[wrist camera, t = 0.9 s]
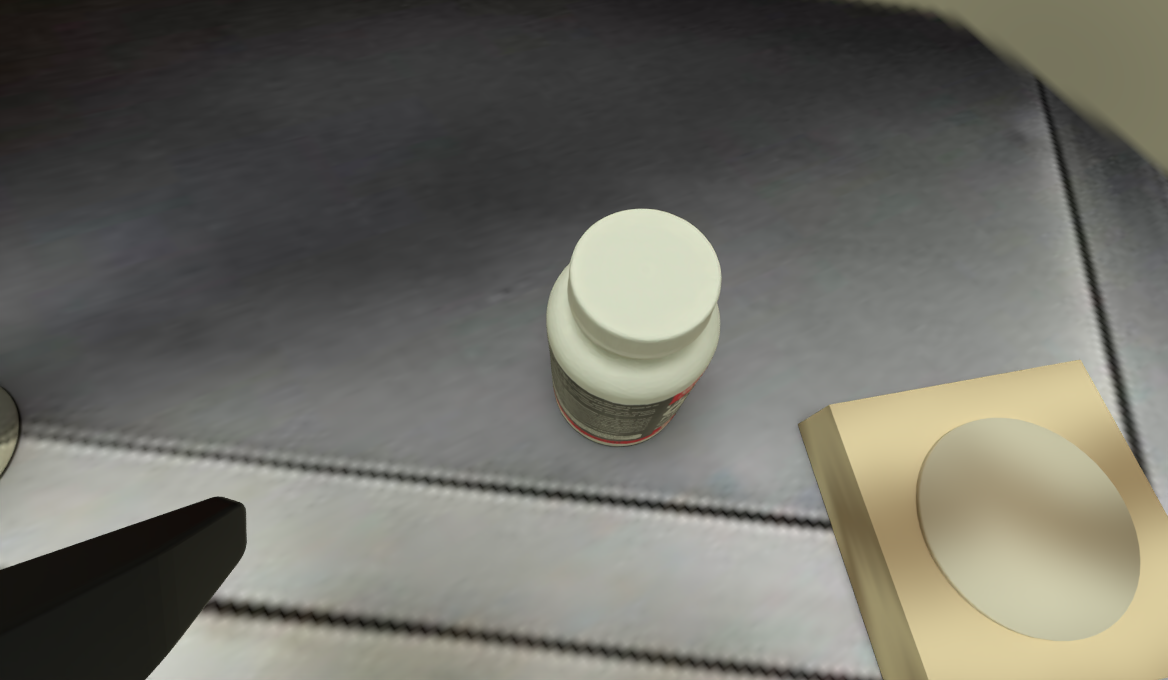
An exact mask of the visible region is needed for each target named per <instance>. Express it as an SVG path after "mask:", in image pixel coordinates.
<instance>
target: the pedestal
mask: <svg viewBox="0 0 1168 680" xmlns="http://www.w3.org/2000/svg"><path fill="white" fill-rule="evenodd" d="M798 426H799V429H800V432H801V435H802V438H803V441H804V444H805V447H806V450H807V453H808V456H809V459H810V462H811V465H812V468H813V471H814V474H815V477H816V480H817V483H818V486H819V489H820V492H821V495H822V498H823V501H824V504H825V507H826V510H827V513H828V516H829V519H830V522H831V525H832V528H833V531H834V534H835V537H836V540H837V543H838V545H839V548H840V551H841V554H842V557H843V560H844V563H845V566H846V569H847V572H848V575H849V578H850V581H851V584H852V587H853V590H854V593H855V596H856V599H857V602H858V605H859V608H860V611H861V614H862V617H863V620H864V623H865V626H866V629H867V632H868V635H869V638H870V641H871V644H872V647H873V650H874V653H875V656H876V659H877V662H878V665H879V668H880V671H881V674H882V677H883V680H1158V679H1162V678H1167V677H1168V516H1167V514H1166V513H1165V511H1164V509H1163V507H1162V505H1161V504H1160V502H1159V500H1158V498H1157V496H1156V495H1155V493H1154V491H1153V489H1152V487H1151V486H1150V484H1149V482H1148V480H1147V478H1146V477H1145V475H1144V473H1143V471H1142V469H1141V468H1140V466H1139V464H1138V462H1137V460H1136V459H1135V457H1134V455H1133V453H1132V451H1131V450H1130V448H1129V446H1128V444H1127V442H1126V441H1125V439H1124V437H1123V435H1122V433H1121V432H1120V430H1119V428H1118V426H1117V424H1116V423H1115V421H1114V419H1113V417H1112V416H1111V414H1110V412H1109V410H1108V408H1107V407H1106V405H1105V403H1104V401H1103V399H1102V398H1101V396H1100V394H1099V392H1098V390H1097V389H1096V387H1095V385H1094V383H1093V381H1092V380H1091V378H1090V376H1089V374H1088V372H1087V371H1086V369H1085V367H1084V365H1083V363H1082V362H1081V360H1076V361H1070V362H1065V363H1059V364H1054V365H1048V366H1042V367H1037V368H1031V369H1026V370H1020V371H1015V372H1009V373H1004V374H998V375H993V376H987V377H981V378H976V379H970V380H965V381H959V382H954V383H948V384H943V385H937V386H932V387H926V388H920V389H915V390H909V391H904V392H898V393H893V394H887V395H882V396H876V397H871V398H865V399H859V400H854V401H848V402H843V403H837V404H832V405H828V406H827V407H825V408H824V409H822V410H820V411H819V412H817V413H816V414H814V415H812V416H811V417H809V418H807V419H806V420H804V421H803V422H801V423H799V424H798Z"/></svg>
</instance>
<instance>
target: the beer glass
mask: <svg viewBox="0 0 1168 680" xmlns="http://www.w3.org/2000/svg"><path fill="white" fill-rule="evenodd" d="M18 433H19V416H18V411H17V408H16V405H15V403H14V401H13V399H12V398H11V396H10V395H9V394H8V393H7V392H6V391H5V390H4V389H3V388H1V387H0V475H1V474H2V472H3V471H4V469H5V467H6V466H7V464H8V462H9V460H10V458H11V456H12V454H13V452H14V449H15V446H16V443H17V438H18Z"/></svg>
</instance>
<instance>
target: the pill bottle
mask: <svg viewBox="0 0 1168 680" xmlns="http://www.w3.org/2000/svg"><path fill="white" fill-rule="evenodd" d="M720 289H721V269H720V264H719V261H718V258H717V256H716V253H715V251H714V249H713V247H712V246H711V244H710V243H709V242H708V240H707V239H706V238H705V236H704V235H703V234H702V233H701V232H700V231H699V230H698V229H697V228H695V227H694V226H693V225H691V224H690V223H688V222H687V221H685V220H683V219H681V218H679V217H677V216H675V215H672V214H670V213H667V212H663V211H658V210H653V209H632V210H625V211H621V212H617V213H614V214H612V215H609V216H607V217H605V218H603V219H601V220H599V221H598V222H596V223H595V224H594V225H592V226H591V227H590V228H589V229H588V230H587V231H586V232H585V233H584V235H583V236H582V237H581V238H580V240H579V241H578V243H577V245H576V247H575V249H574V252H573V255H572V257H571V262H570V264H569V265H568V266H567V267H566V268H565V269H564V270H563V272H562V273H561V274H560V276H559V277H558V279H557V281H556V282H555V284H554V287H553V289H552V291H551V294H550V298H549V301H548V306H547V322H546V328H547V336H548V342H549V349H550V357H551V369H552V380H553V387H554V393H555V397H556V401H557V404H558V406H559V409H560V411H561V413H562V414H563V416H564V417H565V419H566V420H567V421H568V422H569V424H570V425H571V426H572V427H573V428H574V429H575V430H576V431H578V432H579V433H580V434H582V435H583V436H585V437H586V438H588V439H590V440H592V441H594V442H597V443H600V444H604V445H610V446H628V445H634V444H637V443H640V442H643V441H646V440H648V439H650V438H651V437H653V436H654V435H656V434H657V433H659V432H660V431H661V430H662V429H663V428H664V427H665V426H666V425H667V424H668V423H669V422H670V421H671V419H672V418H673V416H674V415H675V414H676V412H677V411H678V409H679V408H680V406H681V405H682V403H683V402H684V400H685V399H686V397H687V396H688V394H689V393H690V391H691V390H692V388H693V387H694V386H695V384H696V382H697V381H698V380H699V378H700V377H701V376H702V374H703V373H704V371H705V370H706V368H707V367H708V365H709V363H710V361H711V359H712V357H713V355H714V353H715V350H716V347H717V344H718V340H719V334H720V315H719V309H718V305H717V301H718V298H719V294H720Z"/></svg>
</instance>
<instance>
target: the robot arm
mask: <svg viewBox="0 0 1168 680" xmlns="http://www.w3.org/2000/svg"><path fill="white" fill-rule="evenodd" d="M246 544H247V534H246V508H245V507H244V505H243V504H242V503H240V502H237V501H234V500H231V499H228V498H225V497H213V498H209V499H206V500H203V501H201V502H198V503H195V504H192V505H189V506H186V507H183V508H180V509H177V510H174V511H171V512H168V513H165V514H163V515H160V516H157V517H154V518H151V519H148V520H145V521H142V522H139V523H136V524H133V525H130V526H127V527H125V528H122V529H119V530H116V531H113V532H110V533H107V534H104V535H101V536H98V537H95V538H92V539H90V540H87V541H84V542H81V543H78V544H75V545H72V546H69V547H66V548H63V549H60V550H57V551H54V552H52V553H49V554H46V555H43V556H40V557H37V558H34V559H31V560H28V561H25V562H22V563H19V564H16V565H14V566H11V567H8V568H5V569H2V570H0V680H145V679H146V678H147V677H148V676H149V675H150V674H151V673H152V672H153V671H154V669H155V668H156V667H157V666H158V665H159V664H160V663H161V661H162V660H163V659H164V658H165V657H166V656H167V655H168V653H169V652H170V651H171V650H172V648H173V647H174V646H175V645H176V643H177V642H178V641H179V640H180V638H181V637H182V636H183V634H184V633H185V632H186V631H187V629H188V628H189V627H190V625H191V624H192V623H193V621H194V620H195V619H196V617H197V616H198V615H199V613H200V612H201V611H202V610H203V608H204V607H205V606H206V604H207V603H208V602H209V600H210V599H211V598H212V596H213V595H214V594H215V592H216V591H217V590H218V589H219V587H220V586H221V585H222V583H223V582H224V581H225V579H226V578H227V577H228V575H229V574H230V573H231V571H232V570H233V569H234V568H235V566H236V565H237V564H238V562H239V561H240V559H241V558H242V556H243V554H244V552H245V549H246Z"/></svg>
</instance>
